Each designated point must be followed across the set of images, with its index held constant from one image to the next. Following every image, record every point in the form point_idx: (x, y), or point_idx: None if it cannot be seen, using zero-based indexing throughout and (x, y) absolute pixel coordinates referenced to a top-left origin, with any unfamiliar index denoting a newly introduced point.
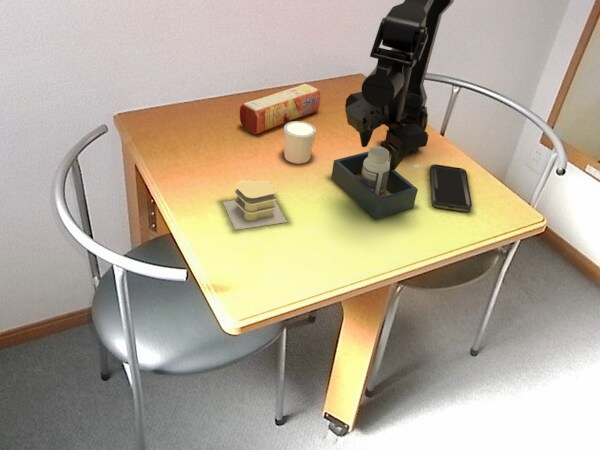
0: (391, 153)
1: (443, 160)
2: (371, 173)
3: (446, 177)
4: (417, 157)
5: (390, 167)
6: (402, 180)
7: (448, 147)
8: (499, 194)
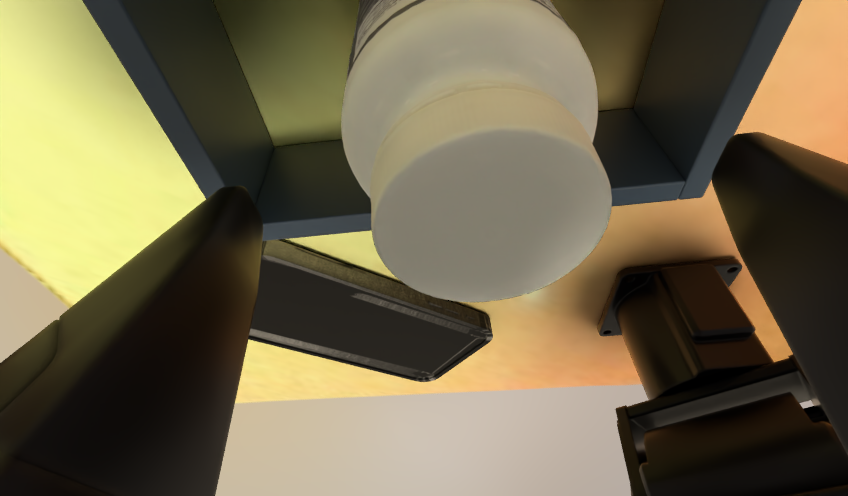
0: (83, 367)
1: (513, 356)
2: (385, 19)
3: (408, 337)
4: (573, 314)
5: (212, 203)
6: (340, 213)
7: (560, 382)
8: (310, 386)
